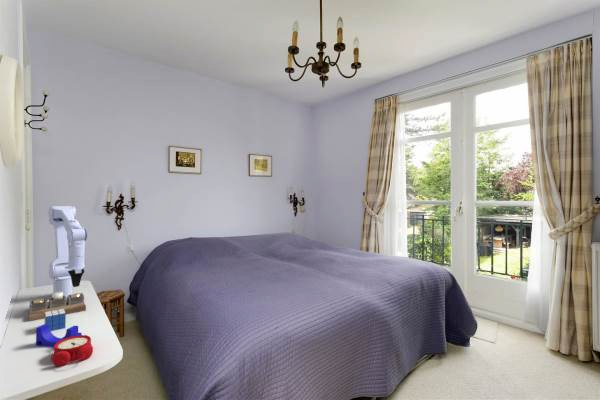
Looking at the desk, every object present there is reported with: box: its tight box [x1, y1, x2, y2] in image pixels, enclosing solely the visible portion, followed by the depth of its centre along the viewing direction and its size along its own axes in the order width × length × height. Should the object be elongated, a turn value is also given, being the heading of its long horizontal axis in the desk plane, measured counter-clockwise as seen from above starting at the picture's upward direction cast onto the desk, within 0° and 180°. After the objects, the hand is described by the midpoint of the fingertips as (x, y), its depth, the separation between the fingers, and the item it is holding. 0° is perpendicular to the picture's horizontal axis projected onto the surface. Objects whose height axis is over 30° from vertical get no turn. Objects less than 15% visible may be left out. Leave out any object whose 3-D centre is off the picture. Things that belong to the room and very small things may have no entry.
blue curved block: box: [35, 323, 83, 348], centre depth 101 cm, size 12×4×6 cm, turn 86°
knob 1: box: [32, 298, 45, 304], centre depth 125 cm, size 3×3×3 cm
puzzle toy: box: [44, 309, 67, 332], centre depth 112 cm, size 6×6×6 cm
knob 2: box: [71, 292, 81, 297], centre depth 133 cm, size 3×3×3 cm
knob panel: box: [28, 292, 87, 322], centre depth 129 cm, size 16×18×5 cm
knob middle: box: [52, 292, 63, 300], centre depth 129 cm, size 3×3×3 cm
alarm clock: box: [50, 334, 94, 367], centre depth 93 cm, size 10×6×15 cm
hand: (75, 286), depth 133 cm, fingers closed
